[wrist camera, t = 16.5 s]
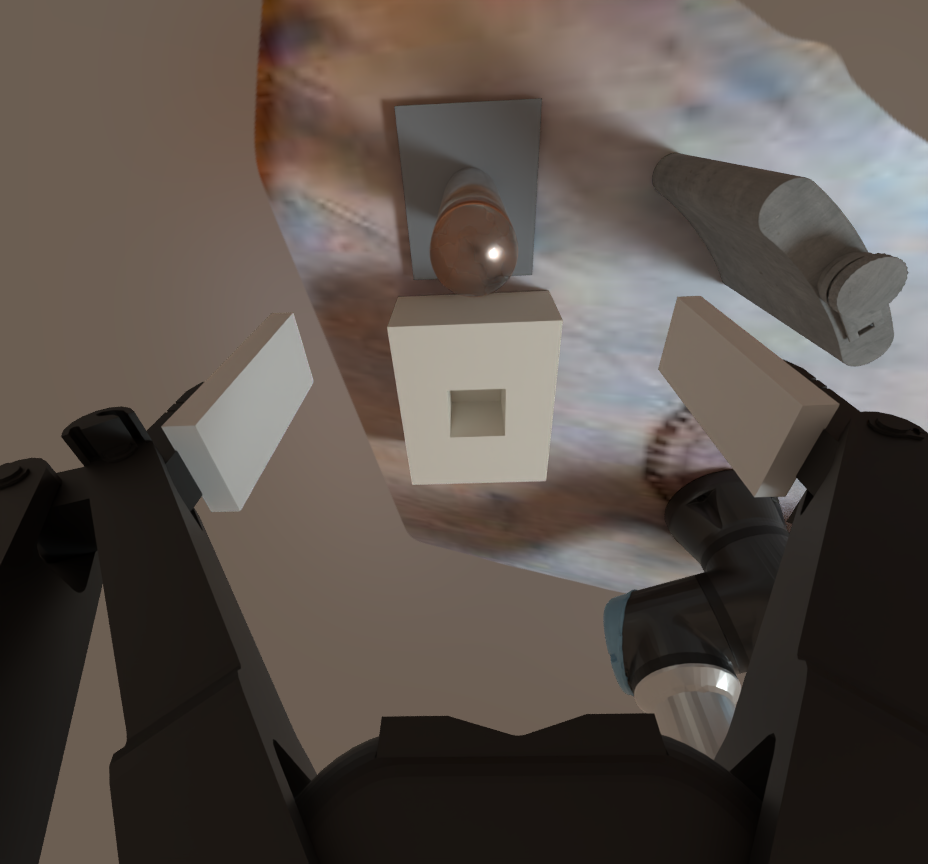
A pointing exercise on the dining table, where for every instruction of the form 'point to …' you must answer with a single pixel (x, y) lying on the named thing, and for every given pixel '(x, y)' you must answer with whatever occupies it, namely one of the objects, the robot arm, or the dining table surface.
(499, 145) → the slate mat
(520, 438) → the bore block
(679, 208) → the hip flask
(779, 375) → the robot arm
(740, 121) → the dining table surface
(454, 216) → the steel plug
